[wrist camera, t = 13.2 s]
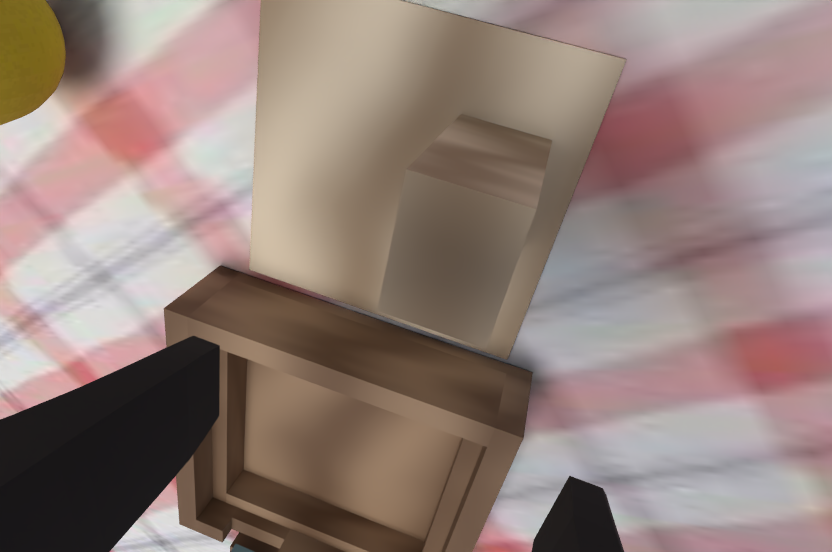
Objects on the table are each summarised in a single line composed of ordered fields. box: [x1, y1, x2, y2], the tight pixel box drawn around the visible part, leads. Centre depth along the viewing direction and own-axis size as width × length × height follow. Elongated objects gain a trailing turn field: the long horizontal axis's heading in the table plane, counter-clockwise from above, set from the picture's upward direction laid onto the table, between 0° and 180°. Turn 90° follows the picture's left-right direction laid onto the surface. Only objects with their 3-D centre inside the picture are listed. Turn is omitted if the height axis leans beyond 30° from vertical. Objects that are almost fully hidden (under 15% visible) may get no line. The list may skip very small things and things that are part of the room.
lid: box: [249, 0, 626, 360], centre depth 16 cm, size 11×11×7 cm
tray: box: [164, 266, 533, 552], centre depth 25 cm, size 14×18×4 cm
